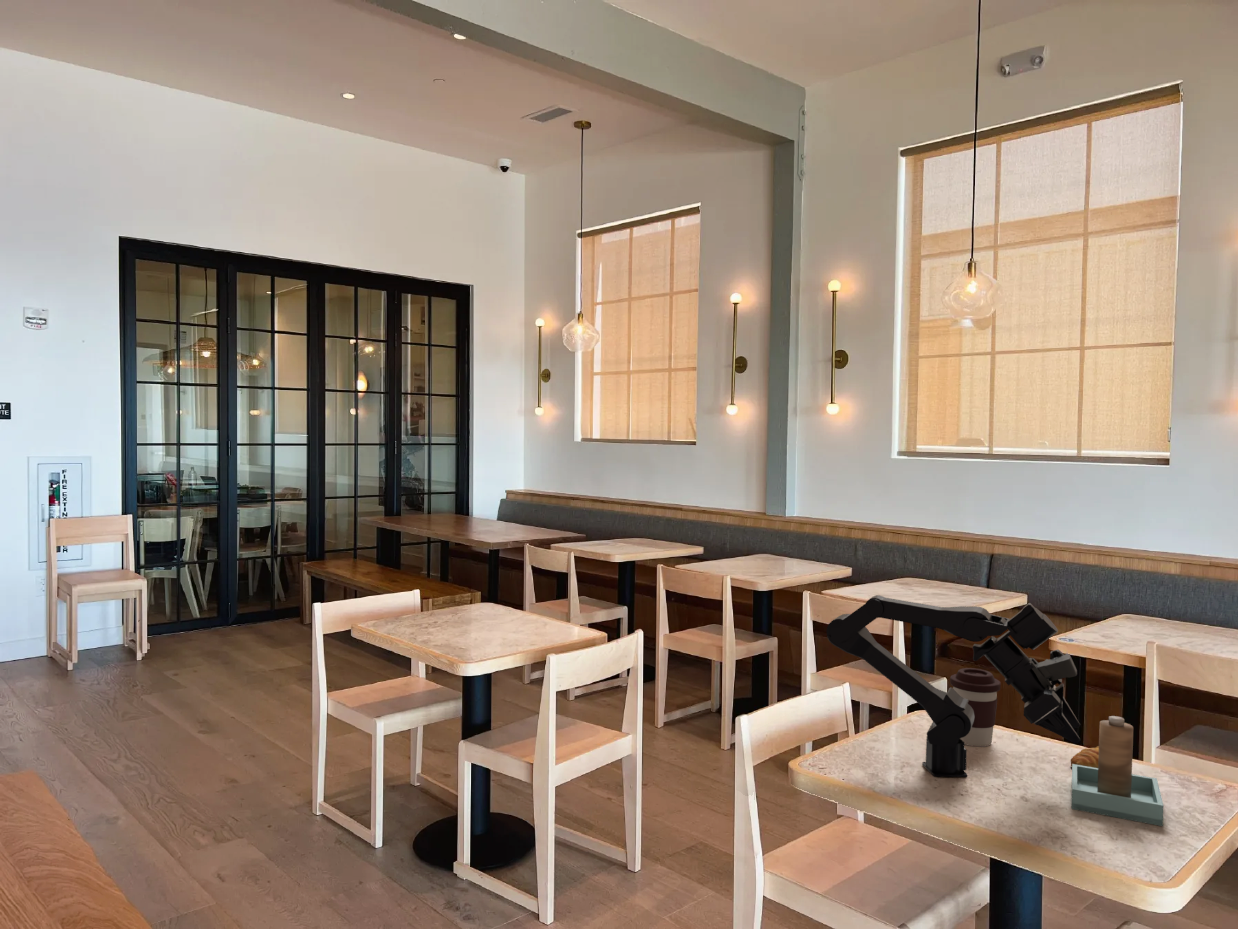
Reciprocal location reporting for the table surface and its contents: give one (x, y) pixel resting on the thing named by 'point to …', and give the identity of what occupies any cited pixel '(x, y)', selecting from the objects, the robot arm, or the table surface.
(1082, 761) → the pastry
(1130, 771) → the pepper mill
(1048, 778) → the table surface
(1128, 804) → the tray
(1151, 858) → the table surface
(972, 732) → the coffee cup
